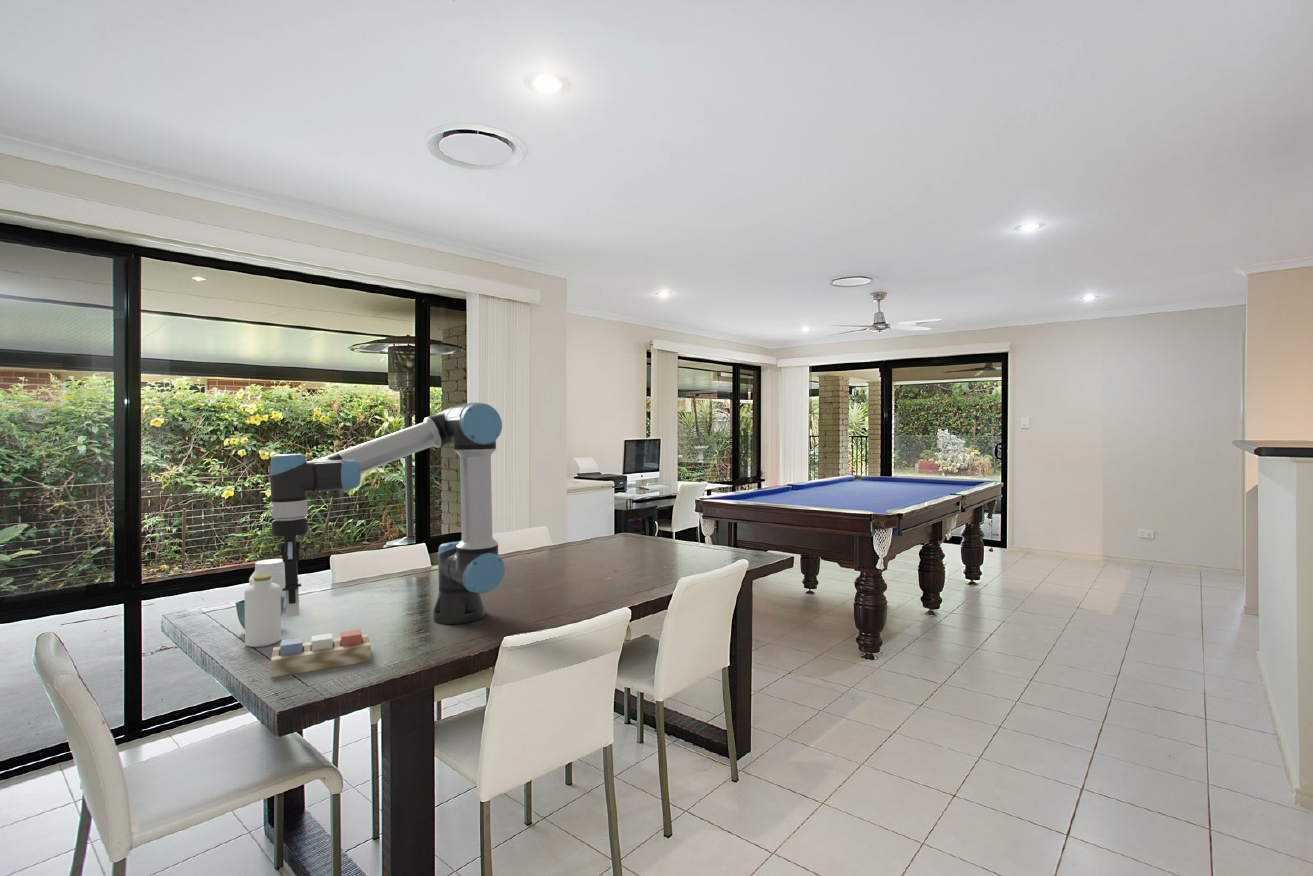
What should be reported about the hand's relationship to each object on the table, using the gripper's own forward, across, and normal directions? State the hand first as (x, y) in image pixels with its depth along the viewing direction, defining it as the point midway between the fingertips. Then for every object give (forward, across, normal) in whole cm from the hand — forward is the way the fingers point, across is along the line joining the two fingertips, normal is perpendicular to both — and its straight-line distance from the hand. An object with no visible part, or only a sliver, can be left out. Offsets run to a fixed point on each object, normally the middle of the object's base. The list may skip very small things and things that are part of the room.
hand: (292, 615), depth 152 cm
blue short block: (+11, 0, 0) cm, 11 cm away
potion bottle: (+13, -24, -8) cm, 28 cm away
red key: (+11, 0, +12) cm, 17 cm away
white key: (+11, 0, +6) cm, 13 cm away
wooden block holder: (+13, 0, +6) cm, 14 cm away
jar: (+13, -64, -8) cm, 65 cm away
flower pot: (+13, -38, -9) cm, 41 cm away
